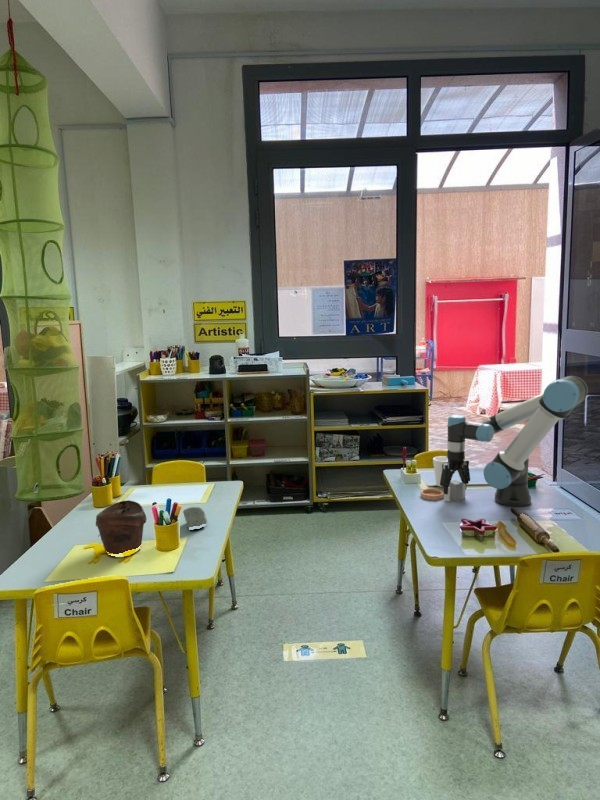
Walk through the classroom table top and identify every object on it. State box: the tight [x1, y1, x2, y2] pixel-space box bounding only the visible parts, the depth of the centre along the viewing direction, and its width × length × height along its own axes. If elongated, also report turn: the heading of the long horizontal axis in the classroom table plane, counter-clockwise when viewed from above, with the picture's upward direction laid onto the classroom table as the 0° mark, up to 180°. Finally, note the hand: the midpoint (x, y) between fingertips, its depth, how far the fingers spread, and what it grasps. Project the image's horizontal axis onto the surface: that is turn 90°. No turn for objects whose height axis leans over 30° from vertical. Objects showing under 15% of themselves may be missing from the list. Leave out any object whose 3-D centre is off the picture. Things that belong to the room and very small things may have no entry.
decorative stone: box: [182, 506, 208, 528], centre depth 229 cm, size 13×11×10 cm
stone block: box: [449, 479, 464, 503], centre depth 250 cm, size 5×4×8 cm
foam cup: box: [432, 455, 452, 488], centre depth 270 cm, size 10×9×13 cm
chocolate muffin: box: [95, 499, 148, 559], centre depth 207 cm, size 18×20×18 cm
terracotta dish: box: [420, 487, 444, 501], centre depth 255 cm, size 10×10×2 cm
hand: (454, 498), depth 251 cm, fingers open, 8 cm apart
